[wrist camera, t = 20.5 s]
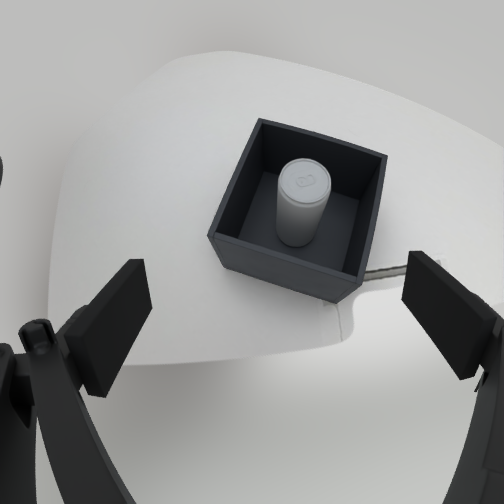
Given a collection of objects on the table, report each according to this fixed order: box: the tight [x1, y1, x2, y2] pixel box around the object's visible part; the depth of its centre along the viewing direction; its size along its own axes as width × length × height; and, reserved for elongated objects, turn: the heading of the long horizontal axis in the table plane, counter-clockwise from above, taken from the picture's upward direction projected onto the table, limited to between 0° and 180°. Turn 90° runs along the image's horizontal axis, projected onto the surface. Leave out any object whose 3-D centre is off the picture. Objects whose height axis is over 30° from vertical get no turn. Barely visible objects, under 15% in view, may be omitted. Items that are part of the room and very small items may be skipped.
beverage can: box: [276, 158, 331, 247], centre depth 33 cm, size 5×5×12 cm
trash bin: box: [207, 118, 388, 304], centre depth 34 cm, size 14×14×11 cm
